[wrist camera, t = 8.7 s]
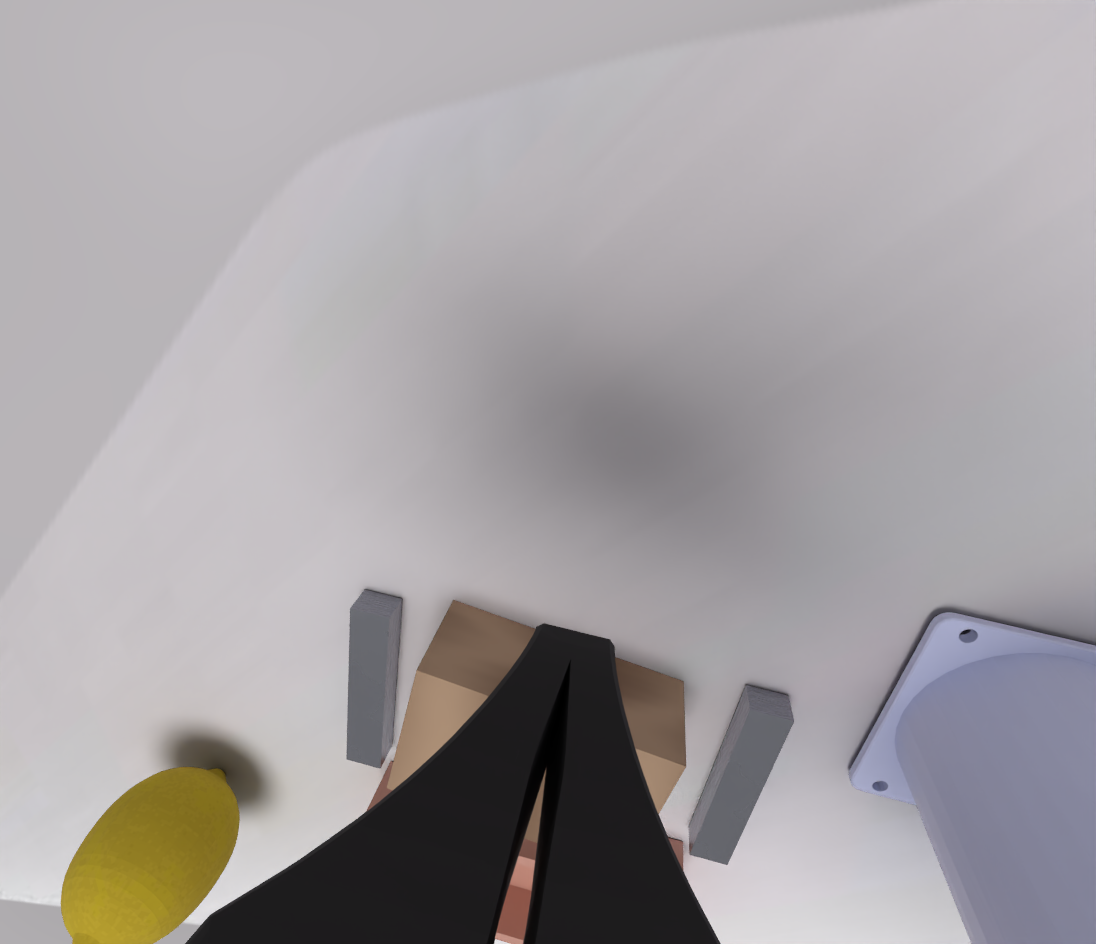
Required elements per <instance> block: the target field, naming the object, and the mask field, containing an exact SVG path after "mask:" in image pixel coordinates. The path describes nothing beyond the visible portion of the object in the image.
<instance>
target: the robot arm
mask: <svg viewBox="0 0 1096 944" xmlns="http://www.w3.org/2000/svg"><path fill="white" fill-rule="evenodd" d="M967 629H972V630H971V631H970V632H969V633H968V634H965V635H959V634H960V633H961V632H962V631H964V630H967ZM545 770H546V775H545V783H544V791H543V799H542V808H541V816H540V824H539V832H538V841H537V849H536V857H535V866H534V874H533V882H532V891H531V899H530V905H529V912H528V918H527V925H526V931H525V936H524V941H523V944H720V942H719V940H718V938H717V936H716V934H715V933H714V931H713V929H712V927H711V925H710V923H709V921H708V919H707V917H706V915H705V914H704V912H703V910H702V908H701V906H700V904H699V902H698V900H697V898H696V897H695V895H694V893H693V891H692V889H691V887H690V885H689V883H688V880H687V878H686V876H685V874H684V872H683V870H682V867H681V865H680V863H679V861H678V859H677V857H676V855H675V852H674V850H673V848H672V845H671V843H670V841H669V838H668V836H667V834H666V831H665V829H664V827H663V824H662V822H661V820H660V817H659V814H658V812H657V809H656V807H655V804H654V802H653V799H652V796H651V794H650V791H649V788H648V785H647V782H646V779H645V777H644V774H643V771H642V768H641V765H640V762H639V759H638V756H637V752H636V749H635V746H634V742H633V739H632V735H631V732H630V728H629V724H628V721H627V717H626V714H625V709H624V705H623V701H622V696H621V692H620V687H619V682H618V676H617V670H616V662H615V651H614V645H613V643H612V642H611V641H610V639H605V638H601V637H597V636H593V635H589V634H585V633H581V632H577V631H573V630H569V629H565V628H560V627H556V626H552V625H548V624H542V625H540V626H538V627H536V629H535V632H534V634H533V636H532V637H531V639H530V641H529V642H528V644H527V646H526V647H525V649H524V651H523V652H522V653H521V655H520V656H519V658H518V659H517V661H516V662H515V663H514V665H513V666H512V668H511V669H510V670H509V672H508V673H507V674H506V675H505V677H504V678H503V679H502V680H501V682H500V683H499V684H498V685H497V687H496V688H495V689H494V690H493V692H492V693H491V694H490V695H489V697H488V698H487V699H486V700H485V701H484V702H483V704H482V705H481V706H480V707H479V708H478V709H477V710H476V711H475V712H474V713H473V715H472V716H471V717H470V718H469V719H468V720H467V721H466V722H465V723H464V724H463V725H462V726H461V727H460V729H459V730H458V731H457V732H456V733H455V734H454V735H453V736H452V737H451V738H450V739H449V740H448V741H447V742H446V743H445V744H444V745H443V746H442V747H441V748H440V749H439V750H438V751H437V752H436V753H435V754H434V755H433V756H431V757H430V758H429V759H428V760H427V761H426V762H425V763H424V764H423V765H422V766H421V767H419V768H418V769H417V770H416V771H415V772H414V773H413V774H412V775H410V776H409V777H408V778H407V779H406V780H405V781H403V782H402V783H401V784H400V785H399V786H397V787H396V788H395V789H394V790H393V791H391V792H390V793H389V794H388V795H387V796H385V797H384V798H383V799H382V800H381V801H379V802H378V803H377V804H376V805H374V806H373V807H372V808H371V809H369V810H368V811H367V812H365V813H364V814H363V815H361V816H360V817H359V818H358V819H356V820H355V821H354V822H352V823H351V824H349V825H348V826H346V827H345V828H344V829H342V830H341V831H339V832H338V833H337V834H335V835H334V836H332V837H331V838H330V839H328V840H327V841H325V842H324V843H322V844H321V845H320V846H318V847H317V848H315V849H314V850H313V851H311V852H310V853H308V854H307V855H306V856H304V857H303V858H301V859H300V860H298V861H297V862H295V863H294V864H292V865H291V866H289V867H287V868H286V869H284V870H283V871H281V872H279V873H278V874H276V875H275V876H273V877H271V878H270V879H268V880H266V881H265V882H263V883H262V884H260V885H258V886H257V887H255V888H253V889H252V890H250V891H248V892H247V893H245V894H244V895H242V896H240V897H239V898H237V899H235V900H234V901H232V902H230V903H229V904H227V905H226V906H224V907H222V908H221V909H219V910H217V911H216V912H214V913H213V914H211V915H210V916H209V917H208V918H207V919H206V920H205V921H204V922H203V924H202V925H201V926H200V927H199V928H198V929H197V931H196V932H195V933H194V934H193V935H192V936H191V938H190V939H189V940H188V941H187V942H186V943H185V944H494V941H495V936H496V932H497V928H498V923H499V920H500V916H501V912H502V909H503V905H504V901H505V898H506V894H507V891H508V888H509V884H510V881H511V878H512V875H513V872H514V869H515V866H516V862H517V859H518V856H519V853H520V850H521V847H522V843H523V840H524V837H525V834H526V831H527V828H528V824H529V821H530V818H531V815H532V812H533V809H534V805H535V802H536V799H537V796H538V793H539V790H540V786H541V783H542V780H543V777H544V774H545ZM849 778H850V781H851V784H852V786H853V787H855V788H856V789H858V790H860V791H864V792H868V793H872V794H876V795H879V796H883V797H887V798H891V799H895V800H899V801H902V802H906V803H910V804H914V805H916V806H917V808H918V811H919V813H920V816H921V818H922V821H923V823H924V826H925V828H926V831H927V833H928V836H929V838H930V841H931V843H932V846H933V848H934V851H935V853H936V856H937V858H938V861H939V863H940V866H941V868H942V871H943V873H944V876H945V878H946V881H947V883H948V886H949V888H950V891H951V893H952V896H953V898H954V901H955V903H956V906H957V908H958V911H959V914H960V916H961V919H962V921H963V924H964V926H965V929H966V931H967V934H968V936H969V939H970V941H971V944H1096V646H1095V645H1091V644H1087V643H1082V642H1078V641H1074V640H1069V639H1065V638H1061V637H1057V636H1052V635H1048V634H1044V633H1039V632H1035V631H1031V630H1026V629H1022V628H1018V627H1013V626H1009V625H1005V624H1001V623H996V622H992V621H988V620H983V619H979V618H975V617H970V616H966V615H962V614H958V613H951V612H946V613H942V614H939V615H937V616H936V617H934V619H933V620H932V621H931V622H930V624H929V626H928V628H927V630H926V632H925V633H924V635H923V637H922V639H921V641H920V643H919V644H918V646H917V648H916V650H915V652H914V654H913V655H912V657H911V659H910V661H909V663H908V665H907V666H906V668H905V670H904V672H903V674H902V675H901V677H900V679H899V681H898V683H897V685H896V686H895V688H894V690H893V692H892V694H891V696H890V697H889V699H888V701H887V703H886V705H885V707H884V708H883V710H882V712H881V714H880V716H879V718H878V719H877V721H876V723H875V725H874V727H873V729H872V730H871V732H870V734H869V736H868V738H867V740H866V741H865V743H864V745H863V747H862V749H861V750H860V752H859V754H858V756H857V758H856V760H855V761H854V763H853V765H852V767H851V769H850V771H849ZM877 781H880V782H877Z"/></svg>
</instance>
